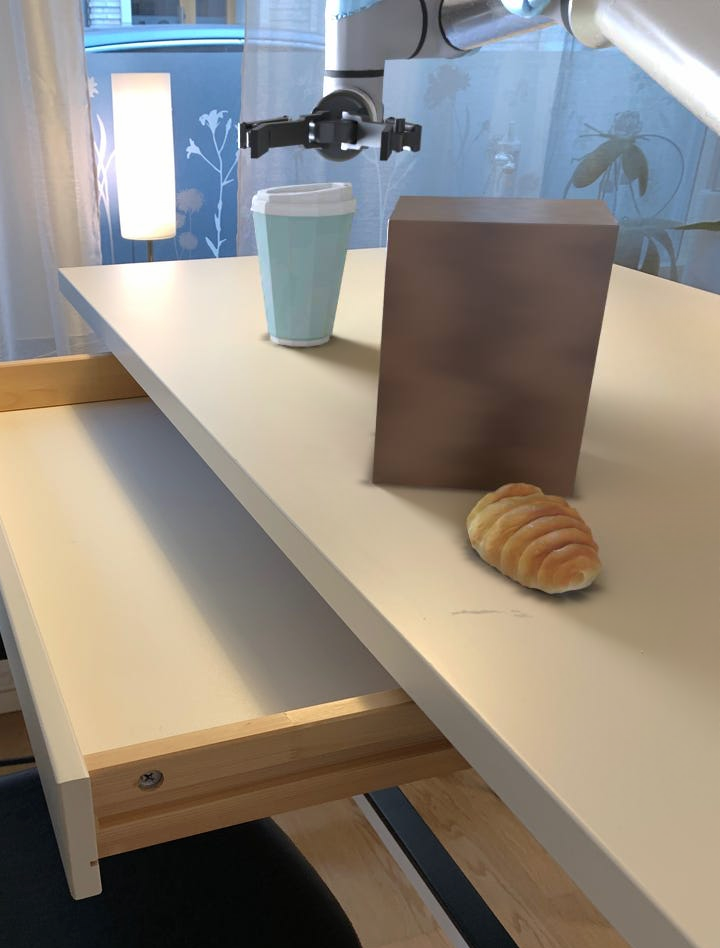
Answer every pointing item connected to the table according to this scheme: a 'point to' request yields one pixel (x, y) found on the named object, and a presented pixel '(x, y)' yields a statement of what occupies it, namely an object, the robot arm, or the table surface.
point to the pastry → (534, 539)
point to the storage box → (490, 340)
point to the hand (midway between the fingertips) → (318, 145)
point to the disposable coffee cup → (302, 257)
